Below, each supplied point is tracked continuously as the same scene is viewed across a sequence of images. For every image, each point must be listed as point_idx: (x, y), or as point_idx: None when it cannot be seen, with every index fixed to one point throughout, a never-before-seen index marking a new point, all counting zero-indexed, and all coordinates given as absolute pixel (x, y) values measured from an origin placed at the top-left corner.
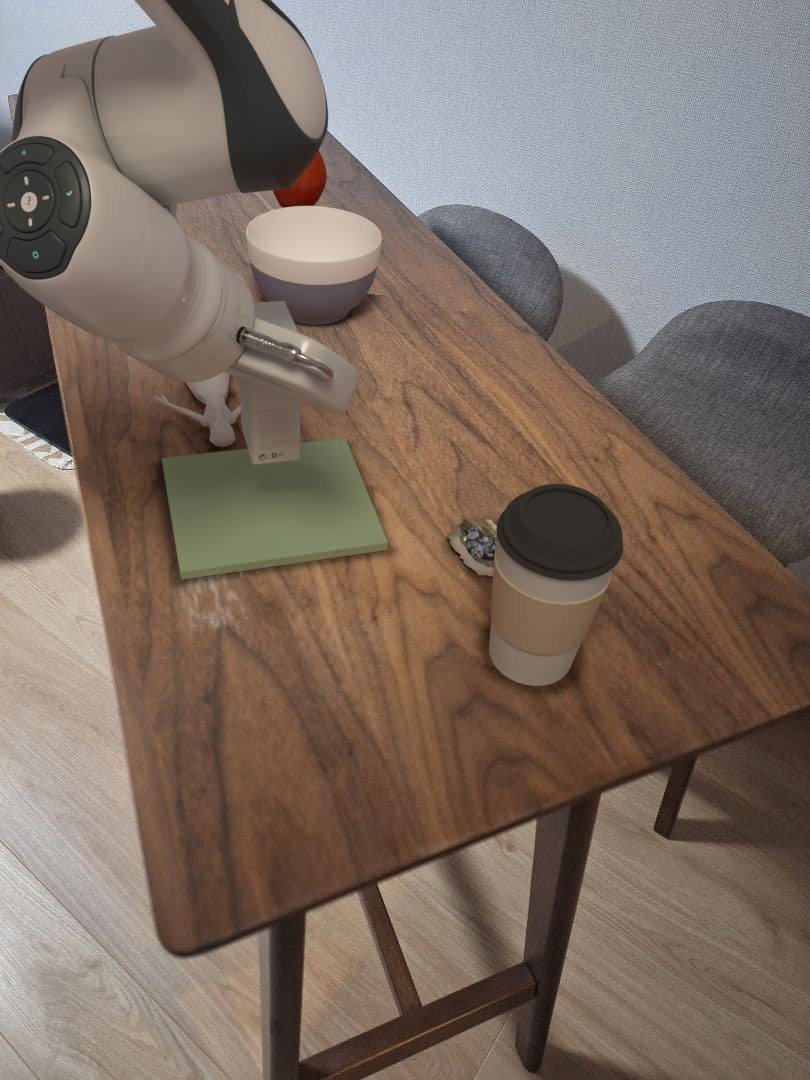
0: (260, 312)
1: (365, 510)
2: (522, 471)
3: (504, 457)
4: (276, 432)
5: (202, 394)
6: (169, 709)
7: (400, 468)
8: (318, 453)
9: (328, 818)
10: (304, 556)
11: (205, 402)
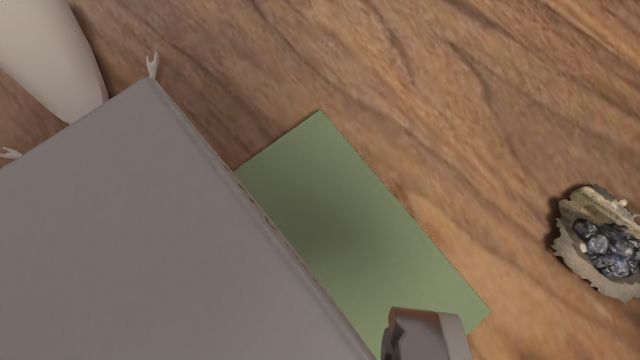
0: (41, 331)
1: (426, 256)
2: (564, 62)
3: (529, 44)
4: None
5: (68, 120)
6: None
7: (414, 128)
8: (300, 161)
9: None
10: None
11: None
